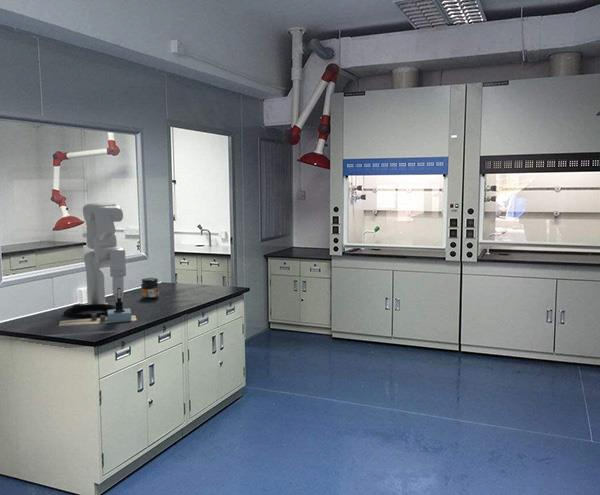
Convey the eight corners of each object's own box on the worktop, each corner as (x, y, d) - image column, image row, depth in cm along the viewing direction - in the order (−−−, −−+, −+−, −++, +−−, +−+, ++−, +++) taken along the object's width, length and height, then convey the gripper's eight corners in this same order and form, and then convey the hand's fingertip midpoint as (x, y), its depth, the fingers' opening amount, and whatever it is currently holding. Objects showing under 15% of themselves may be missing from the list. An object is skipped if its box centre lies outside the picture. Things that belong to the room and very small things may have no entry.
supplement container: (152, 300, 333) (152, 280, 331) (137, 299, 336) (137, 279, 335) (162, 297, 342) (162, 278, 341) (147, 296, 346) (147, 277, 345)
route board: (60, 323, 276) (59, 315, 276) (135, 317, 288) (135, 310, 288) (58, 328, 265) (58, 320, 264) (136, 322, 277) (136, 315, 277)
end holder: (107, 317, 283) (107, 309, 283) (130, 315, 287) (130, 308, 287) (108, 322, 273) (108, 314, 272) (131, 320, 277) (131, 312, 276)
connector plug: (115, 312, 281) (114, 296, 280) (122, 311, 282) (122, 296, 281) (115, 313, 277) (115, 298, 276) (123, 313, 278) (122, 297, 278)
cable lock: (80, 317, 275) (50, 308, 294) (81, 324, 276) (50, 315, 294) (128, 307, 297) (97, 300, 315) (128, 314, 297) (98, 307, 316)
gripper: (109, 271, 284) (110, 306, 286) (110, 275, 268) (111, 313, 270) (125, 270, 286) (126, 305, 288) (126, 275, 271) (127, 311, 273)
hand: (119, 308), depth 279 cm, fingers closed on connector plug, 3 cm apart
